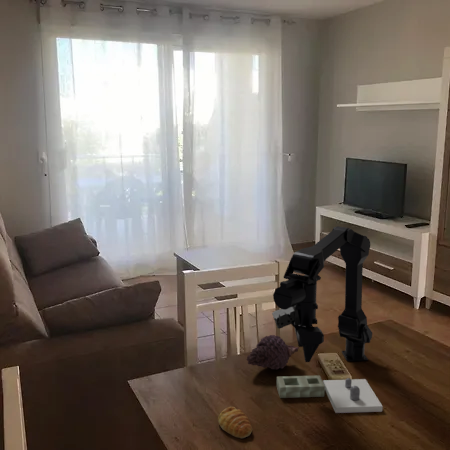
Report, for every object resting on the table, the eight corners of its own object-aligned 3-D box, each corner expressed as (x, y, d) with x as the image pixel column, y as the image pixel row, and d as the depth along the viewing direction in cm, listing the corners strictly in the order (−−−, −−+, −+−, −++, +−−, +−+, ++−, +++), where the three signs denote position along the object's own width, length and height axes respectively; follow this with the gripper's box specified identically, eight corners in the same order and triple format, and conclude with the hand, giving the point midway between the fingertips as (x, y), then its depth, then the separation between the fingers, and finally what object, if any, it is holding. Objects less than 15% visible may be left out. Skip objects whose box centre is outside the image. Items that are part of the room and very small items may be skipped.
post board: (322, 385, 145) (323, 368, 144) (365, 384, 146) (366, 367, 145) (335, 412, 131) (336, 394, 130) (382, 411, 132) (383, 393, 131)
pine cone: (255, 382, 147) (255, 349, 145) (237, 368, 155) (237, 337, 153) (305, 367, 155) (306, 336, 153) (285, 355, 164) (286, 325, 162)
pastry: (259, 434, 123) (259, 419, 122) (236, 444, 119) (235, 429, 119) (237, 415, 131) (237, 402, 130) (214, 424, 127) (214, 410, 126)
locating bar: (279, 397, 139) (280, 387, 138) (276, 386, 144) (276, 376, 144) (324, 396, 139) (324, 386, 139) (319, 385, 145) (319, 375, 144)
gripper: (270, 288, 145) (269, 340, 148) (280, 312, 127) (279, 371, 130) (309, 287, 146) (308, 339, 149) (325, 311, 128) (323, 370, 131)
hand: (303, 354), depth 140 cm, fingers open, 9 cm apart
